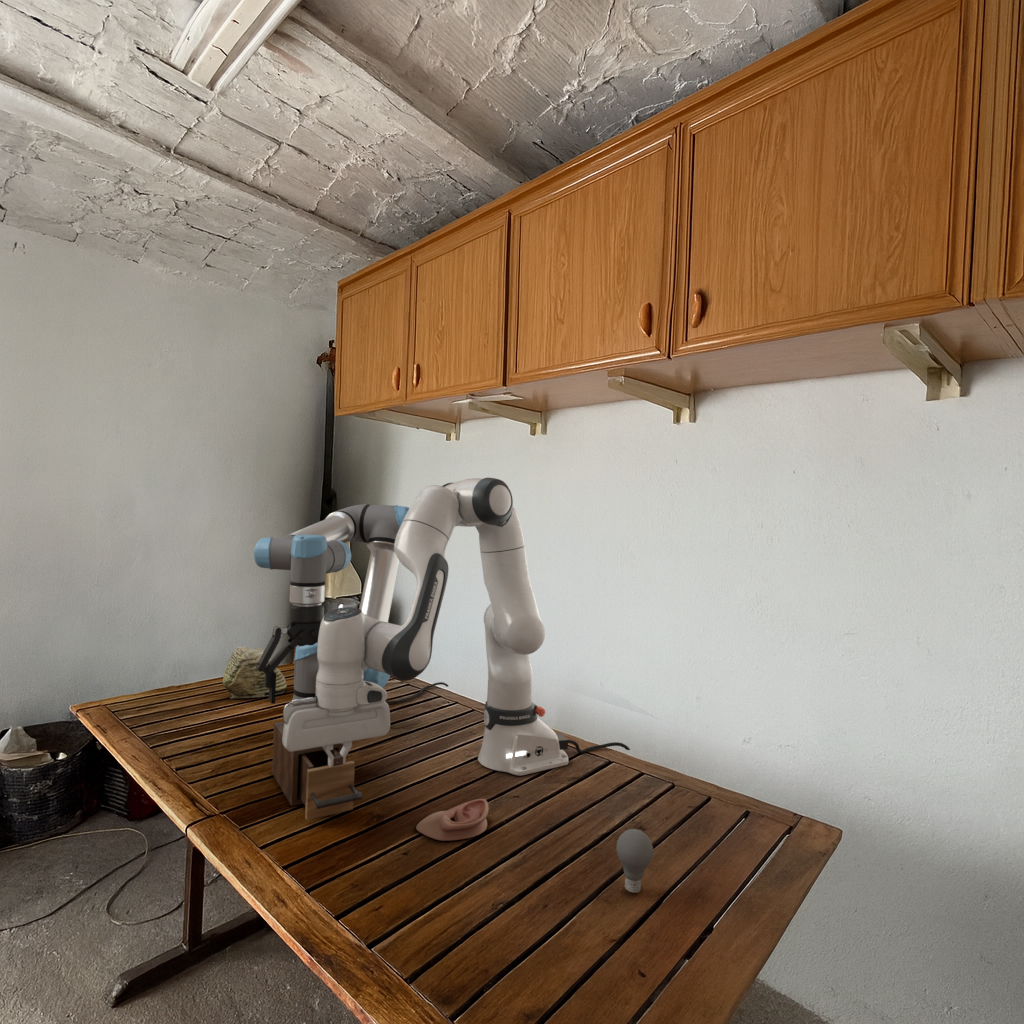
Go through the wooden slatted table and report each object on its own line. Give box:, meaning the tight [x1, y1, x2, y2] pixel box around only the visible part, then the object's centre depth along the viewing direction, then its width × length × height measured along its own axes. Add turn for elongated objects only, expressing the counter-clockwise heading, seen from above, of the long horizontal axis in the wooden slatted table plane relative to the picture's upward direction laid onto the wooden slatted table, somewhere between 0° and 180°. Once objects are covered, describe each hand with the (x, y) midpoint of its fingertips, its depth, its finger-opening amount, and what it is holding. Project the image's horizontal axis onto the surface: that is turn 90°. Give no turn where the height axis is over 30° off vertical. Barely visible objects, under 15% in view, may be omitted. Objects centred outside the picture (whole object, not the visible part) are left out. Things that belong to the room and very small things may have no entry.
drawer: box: [297, 748, 363, 821], centre depth 129 cm, size 22×9×10 cm, turn 33°
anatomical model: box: [415, 798, 489, 842], centre depth 124 cm, size 13×4×12 cm
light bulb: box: [615, 828, 654, 894], centre depth 106 cm, size 6×6×10 cm
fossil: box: [222, 646, 288, 699], centre depth 198 cm, size 9×18×15 cm, turn 132°
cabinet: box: [271, 721, 343, 807], centre depth 139 cm, size 18×10×12 cm, turn 33°
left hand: (303, 697), depth 142 cm, fingers open, 13 cm apart
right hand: (336, 764), depth 122 cm, fingers closed
